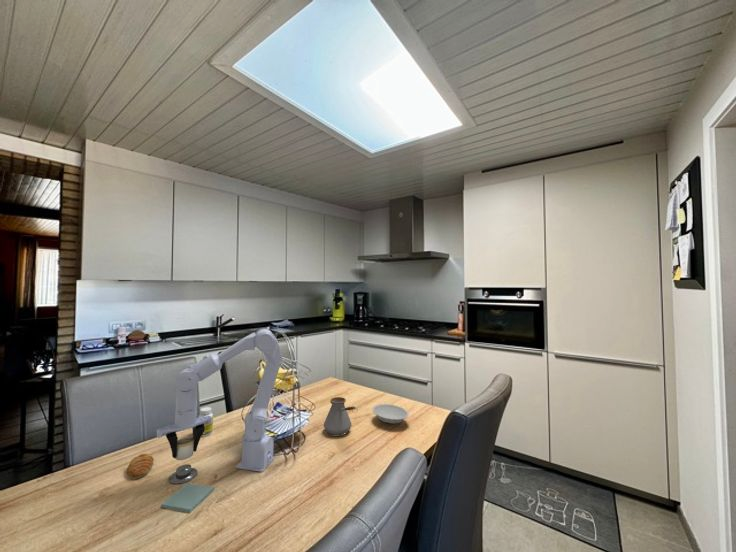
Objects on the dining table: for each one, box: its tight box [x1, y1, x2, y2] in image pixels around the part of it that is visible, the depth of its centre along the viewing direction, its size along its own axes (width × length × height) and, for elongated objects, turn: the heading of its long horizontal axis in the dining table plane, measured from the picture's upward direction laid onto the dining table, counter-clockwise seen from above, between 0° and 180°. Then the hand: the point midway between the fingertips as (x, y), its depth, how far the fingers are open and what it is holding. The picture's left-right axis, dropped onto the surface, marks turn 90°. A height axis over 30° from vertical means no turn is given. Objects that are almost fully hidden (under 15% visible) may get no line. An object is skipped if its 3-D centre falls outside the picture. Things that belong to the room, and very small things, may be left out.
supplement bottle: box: [197, 406, 214, 438], centre depth 120 cm, size 5×5×10 cm
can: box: [174, 436, 194, 461], centre depth 93 cm, size 5×5×4 cm
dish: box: [372, 403, 409, 425], centre depth 133 cm, size 18×14×5 cm
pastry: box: [126, 453, 155, 481], centre depth 95 cm, size 9×7×4 cm
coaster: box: [160, 482, 215, 514], centre depth 83 cm, size 9×9×1 cm
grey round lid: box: [168, 463, 199, 485], centre depth 93 cm, size 8×8×2 cm
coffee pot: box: [323, 396, 358, 436], centre depth 120 cm, size 21×12×15 cm, turn 29°
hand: (184, 453), depth 93 cm, fingers closed on can, 5 cm apart
